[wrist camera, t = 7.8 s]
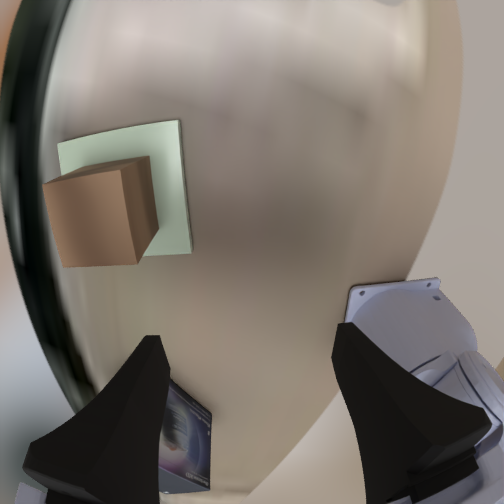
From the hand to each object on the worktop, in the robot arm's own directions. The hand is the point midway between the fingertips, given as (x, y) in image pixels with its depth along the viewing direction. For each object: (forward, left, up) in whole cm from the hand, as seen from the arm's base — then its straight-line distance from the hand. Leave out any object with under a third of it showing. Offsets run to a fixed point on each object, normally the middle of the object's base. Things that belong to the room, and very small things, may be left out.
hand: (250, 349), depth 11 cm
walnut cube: (+8, -4, -10) cm, 13 cm away
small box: (+10, +18, -11) cm, 23 cm away
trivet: (+8, -4, -10) cm, 14 cm away
